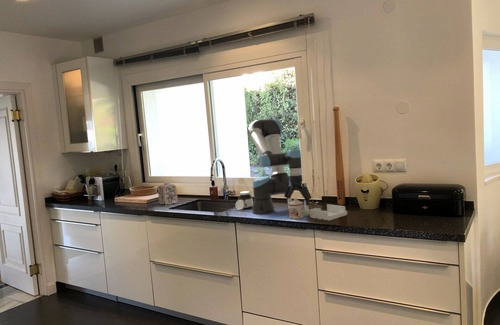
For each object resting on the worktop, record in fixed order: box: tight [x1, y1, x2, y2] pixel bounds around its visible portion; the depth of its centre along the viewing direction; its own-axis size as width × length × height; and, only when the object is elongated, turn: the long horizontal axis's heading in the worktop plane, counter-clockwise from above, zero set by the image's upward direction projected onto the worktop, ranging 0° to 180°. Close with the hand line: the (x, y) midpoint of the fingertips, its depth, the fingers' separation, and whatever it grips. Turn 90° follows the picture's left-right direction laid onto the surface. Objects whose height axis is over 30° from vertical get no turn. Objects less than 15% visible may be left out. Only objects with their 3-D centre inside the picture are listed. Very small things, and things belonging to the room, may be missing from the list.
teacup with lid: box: [287, 198, 307, 220], centre depth 234 cm, size 12×9×12 cm
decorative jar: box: [157, 181, 179, 205], centre depth 319 cm, size 12×12×18 cm
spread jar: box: [235, 190, 254, 211], centre depth 275 cm, size 12×11×12 cm
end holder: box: [309, 203, 348, 222], centre depth 232 cm, size 14×17×5 cm
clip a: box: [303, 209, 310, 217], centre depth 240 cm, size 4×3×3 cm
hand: (298, 209), depth 234 cm, fingers open, 13 cm apart
